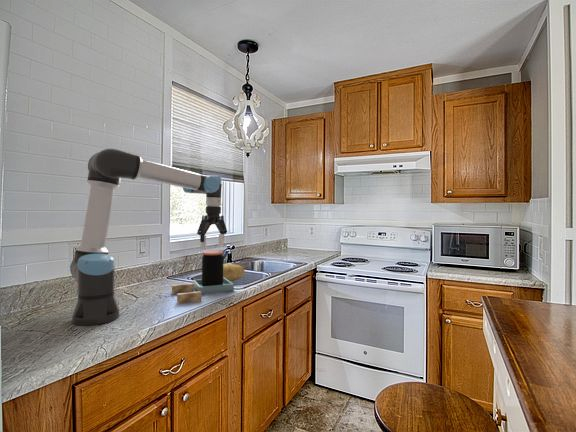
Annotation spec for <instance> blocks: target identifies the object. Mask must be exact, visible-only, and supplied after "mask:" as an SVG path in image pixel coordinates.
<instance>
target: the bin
mask: <svg viewBox="0 0 576 432" xmlns="http://www.w3.org/2000/svg"><path fill="white" fill-rule="evenodd" d="M192 283H193V284H194V291H195V292H198V291H201V295H208V294H209V295H210V294H219V293H228V292H227V291H229V292H234V291H233V290H234V289H235V283H233V281H229V280H227V279H226V278H225V277H223V285H214V286H204V287H203V286H202V278H201V279H200V278H199V279H192Z"/></svg>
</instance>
